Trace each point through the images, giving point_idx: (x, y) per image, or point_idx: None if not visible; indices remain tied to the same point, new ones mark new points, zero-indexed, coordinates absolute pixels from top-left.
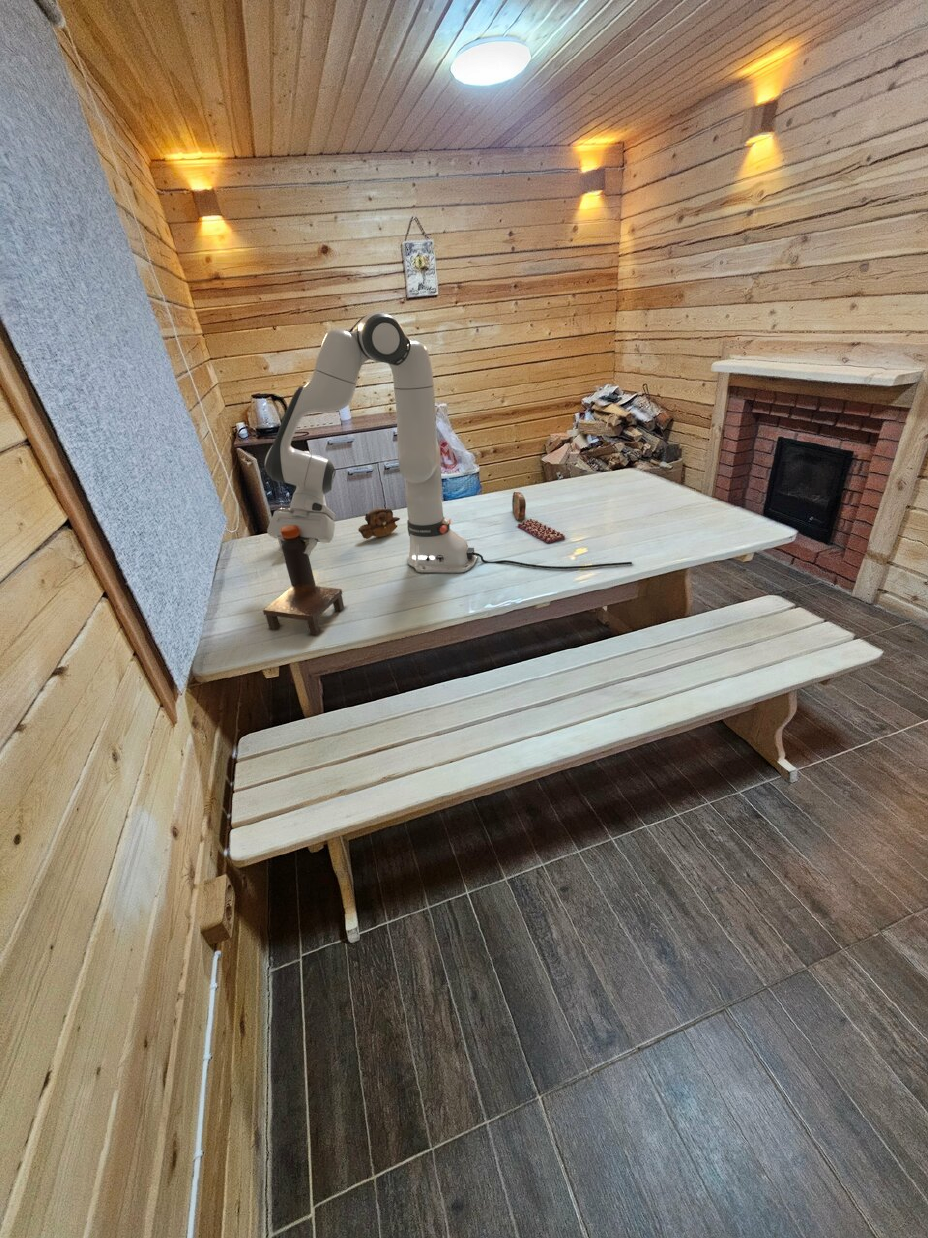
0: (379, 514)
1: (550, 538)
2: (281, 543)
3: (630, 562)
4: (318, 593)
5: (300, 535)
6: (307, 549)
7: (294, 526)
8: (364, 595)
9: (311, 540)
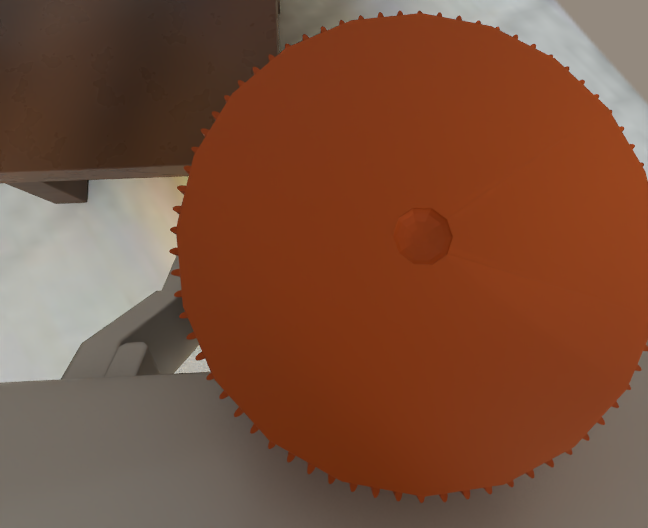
0: None
1: None
2: None
3: None
4: (75, 95)
5: None
6: (172, 275)
7: (355, 390)
8: (13, 334)
9: (96, 362)
